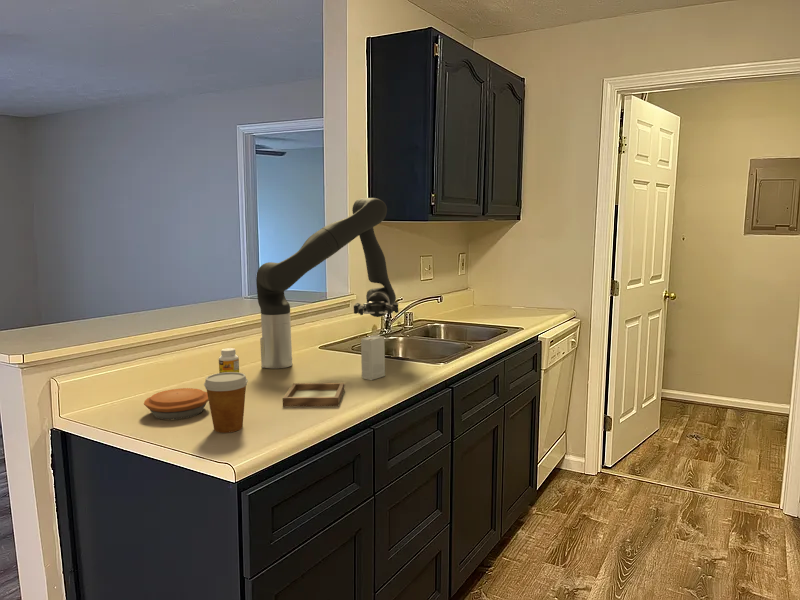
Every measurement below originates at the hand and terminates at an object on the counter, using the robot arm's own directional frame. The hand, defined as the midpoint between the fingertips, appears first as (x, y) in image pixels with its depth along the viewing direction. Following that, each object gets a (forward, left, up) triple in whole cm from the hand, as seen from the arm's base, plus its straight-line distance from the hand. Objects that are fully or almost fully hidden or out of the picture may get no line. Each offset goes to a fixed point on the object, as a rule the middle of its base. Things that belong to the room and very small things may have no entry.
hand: (375, 311), depth 192 cm
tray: (-14, -32, -18) cm, 40 cm away
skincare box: (0, -11, -18) cm, 21 cm away
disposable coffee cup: (-30, -55, -18) cm, 65 cm away
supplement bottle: (-41, -17, -18) cm, 48 cm away
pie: (-46, -43, -18) cm, 66 cm away
